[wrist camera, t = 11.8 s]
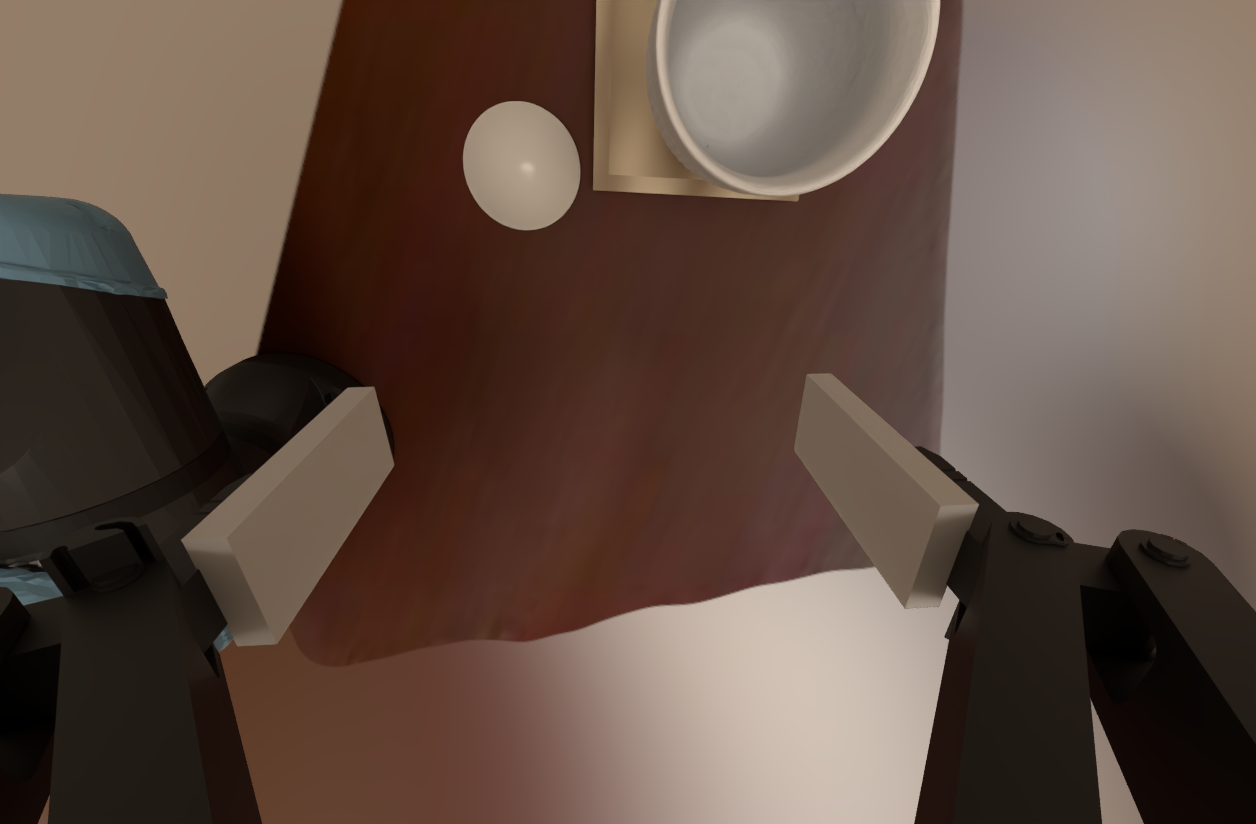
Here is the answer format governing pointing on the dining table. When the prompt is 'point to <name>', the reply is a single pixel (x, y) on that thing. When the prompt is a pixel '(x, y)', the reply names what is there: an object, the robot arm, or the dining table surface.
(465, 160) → the white oval dome
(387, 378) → the dining table surface
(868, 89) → the mug
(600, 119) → the base
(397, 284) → the dining table surface
